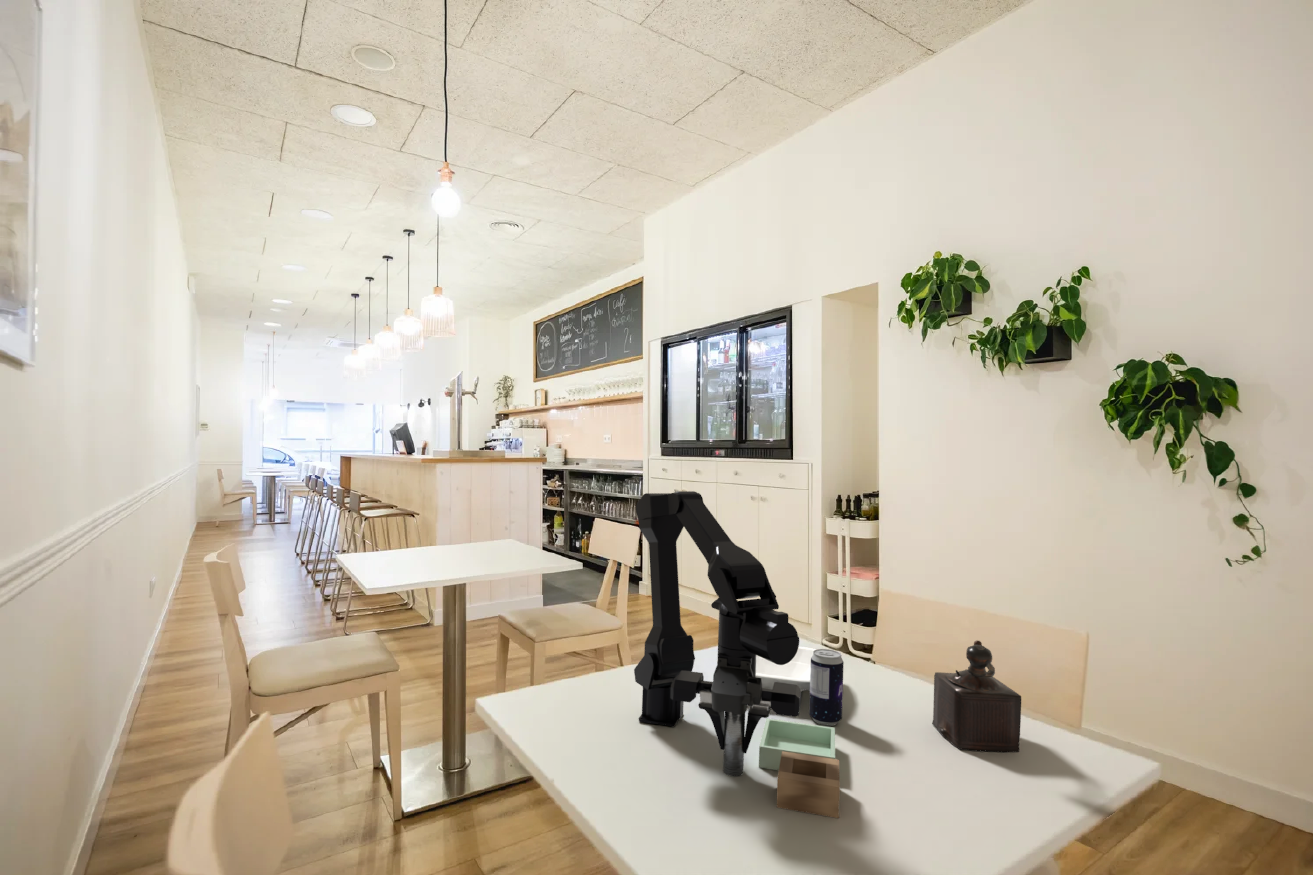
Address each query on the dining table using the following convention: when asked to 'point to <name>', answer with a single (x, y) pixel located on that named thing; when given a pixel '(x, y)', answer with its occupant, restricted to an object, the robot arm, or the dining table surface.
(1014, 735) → the dark brown ornamental box
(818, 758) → the brown square sleeve
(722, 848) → the dining table surface
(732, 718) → the cylinder
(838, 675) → the beverage can
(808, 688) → the bowl
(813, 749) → the tray
